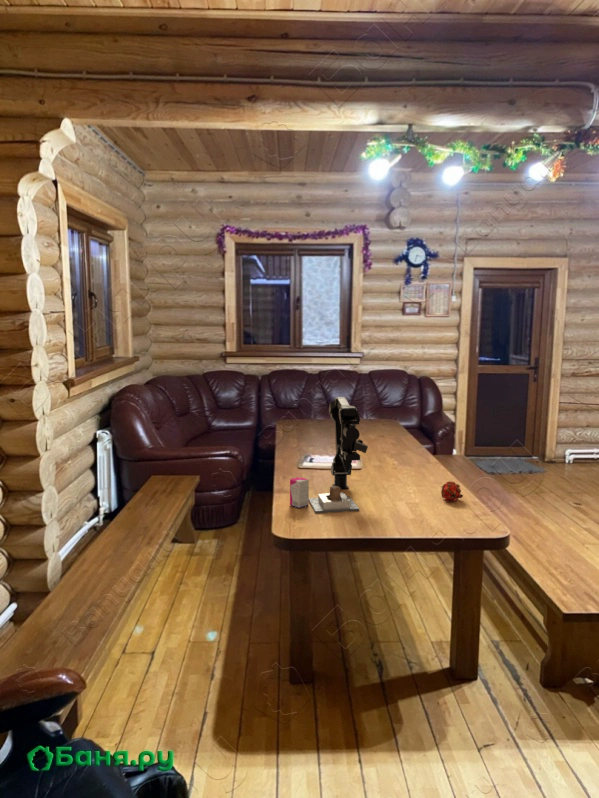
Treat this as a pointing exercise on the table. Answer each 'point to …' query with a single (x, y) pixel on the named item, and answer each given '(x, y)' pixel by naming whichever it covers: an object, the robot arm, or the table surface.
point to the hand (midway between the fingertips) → (347, 471)
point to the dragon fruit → (451, 491)
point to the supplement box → (299, 492)
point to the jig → (332, 504)
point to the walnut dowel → (334, 493)
